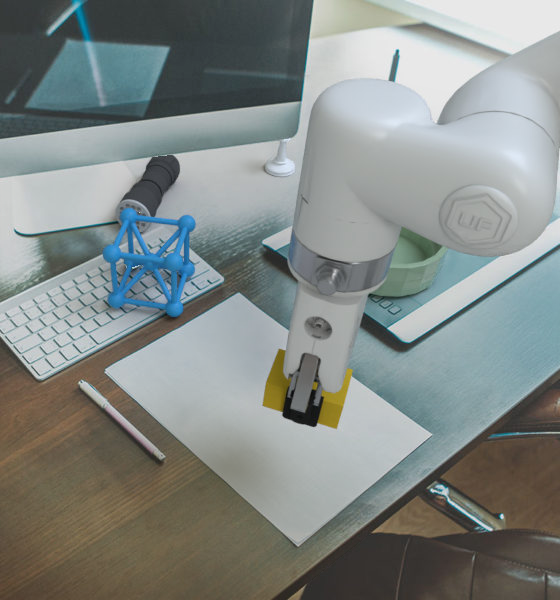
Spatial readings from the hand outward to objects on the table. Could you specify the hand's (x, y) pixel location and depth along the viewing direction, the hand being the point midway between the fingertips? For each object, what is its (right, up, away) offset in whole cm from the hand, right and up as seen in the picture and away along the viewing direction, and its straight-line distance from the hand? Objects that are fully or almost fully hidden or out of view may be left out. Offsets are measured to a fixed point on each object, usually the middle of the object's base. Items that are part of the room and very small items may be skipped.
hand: (306, 397), depth 61 cm
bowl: (+17, +15, +29) cm, 36 cm away
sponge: (0, 0, 0) cm, 0 cm away
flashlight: (-15, +24, +40) cm, 49 cm away
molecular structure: (-15, +10, +26) cm, 32 cm away
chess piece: (+6, +31, +47) cm, 56 cm away
